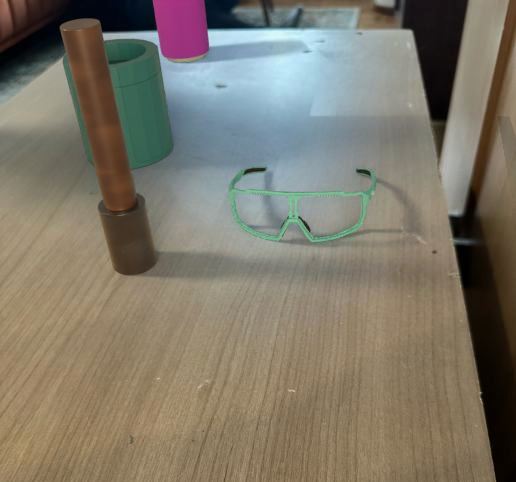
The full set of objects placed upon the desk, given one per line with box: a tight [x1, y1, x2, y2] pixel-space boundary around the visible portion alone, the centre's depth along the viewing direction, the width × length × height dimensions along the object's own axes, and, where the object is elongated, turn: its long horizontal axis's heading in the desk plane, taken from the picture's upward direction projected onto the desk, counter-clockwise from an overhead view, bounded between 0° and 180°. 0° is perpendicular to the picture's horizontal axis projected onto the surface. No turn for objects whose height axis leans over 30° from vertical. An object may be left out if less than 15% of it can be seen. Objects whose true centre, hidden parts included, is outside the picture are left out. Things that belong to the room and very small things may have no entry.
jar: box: [61, 38, 174, 170], centre depth 73 cm, size 10×10×11 cm
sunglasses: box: [228, 166, 377, 243], centre depth 63 cm, size 14×15×5 cm
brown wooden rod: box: [59, 18, 158, 276], centre depth 52 cm, size 4×4×20 cm
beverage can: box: [152, 0, 210, 64], centre depth 98 cm, size 8×8×12 cm
